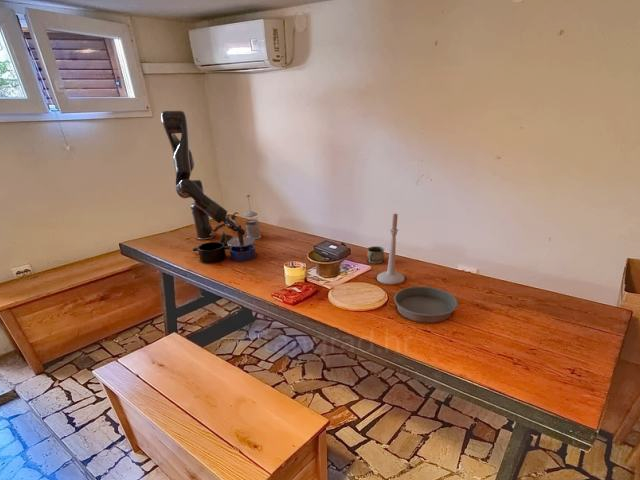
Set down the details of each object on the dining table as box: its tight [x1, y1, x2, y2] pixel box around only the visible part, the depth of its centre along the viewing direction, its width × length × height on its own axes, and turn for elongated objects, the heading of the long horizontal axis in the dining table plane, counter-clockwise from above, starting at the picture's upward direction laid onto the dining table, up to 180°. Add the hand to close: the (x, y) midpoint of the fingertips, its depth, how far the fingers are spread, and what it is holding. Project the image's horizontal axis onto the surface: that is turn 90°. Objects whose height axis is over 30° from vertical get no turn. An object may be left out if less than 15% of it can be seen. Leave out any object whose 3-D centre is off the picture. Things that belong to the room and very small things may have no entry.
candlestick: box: [376, 213, 405, 285], centre depth 163 cm, size 13×13×30 cm
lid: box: [227, 224, 256, 247], centre depth 193 cm, size 15×15×10 cm
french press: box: [243, 194, 262, 240], centre depth 220 cm, size 10×12×25 cm
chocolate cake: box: [219, 230, 234, 246], centre depth 216 cm, size 10×7×12 cm
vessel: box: [366, 245, 385, 264], centre depth 189 cm, size 12×9×6 cm
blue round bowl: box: [228, 244, 257, 262], centre depth 199 cm, size 14×14×5 cm
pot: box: [192, 241, 231, 265], centre depth 196 cm, size 14×19×7 cm
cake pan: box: [393, 285, 459, 324], centre depth 146 cm, size 25×25×4 cm
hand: (243, 233), depth 193 cm, fingers closed on lid, 2 cm apart
